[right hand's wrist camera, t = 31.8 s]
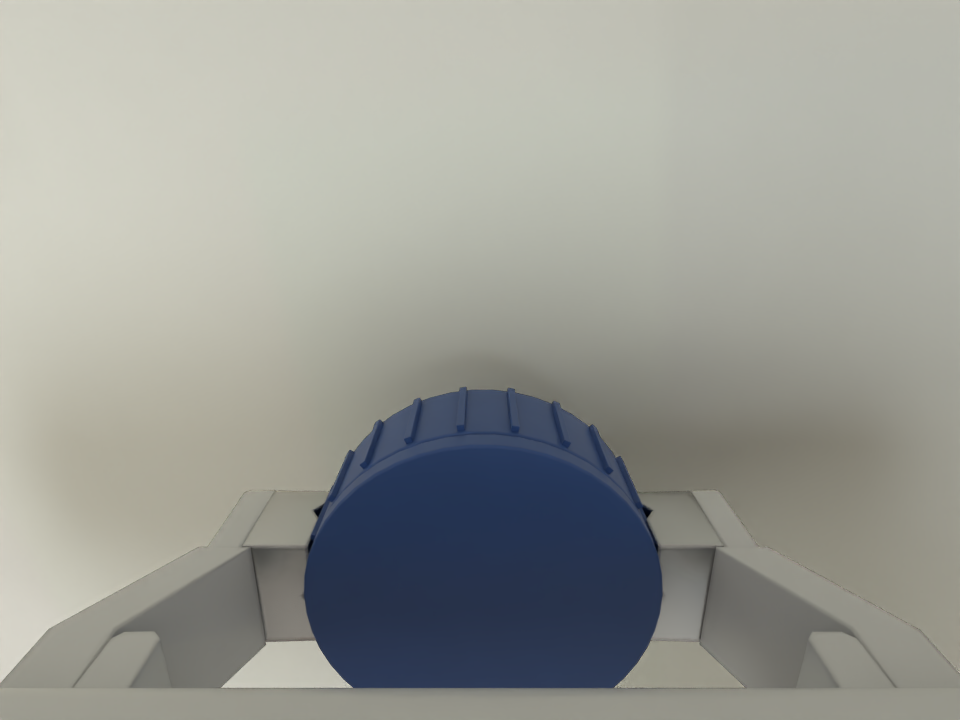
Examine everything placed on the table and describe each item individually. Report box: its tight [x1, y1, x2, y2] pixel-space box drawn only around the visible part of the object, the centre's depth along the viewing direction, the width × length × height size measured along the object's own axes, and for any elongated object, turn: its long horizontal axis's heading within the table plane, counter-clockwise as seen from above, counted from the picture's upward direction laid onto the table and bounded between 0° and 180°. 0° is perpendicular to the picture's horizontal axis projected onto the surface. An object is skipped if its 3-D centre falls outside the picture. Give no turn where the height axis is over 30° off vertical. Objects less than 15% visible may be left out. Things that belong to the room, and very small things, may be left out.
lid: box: [304, 387, 663, 688], centre depth 9 cm, size 5×5×2 cm
